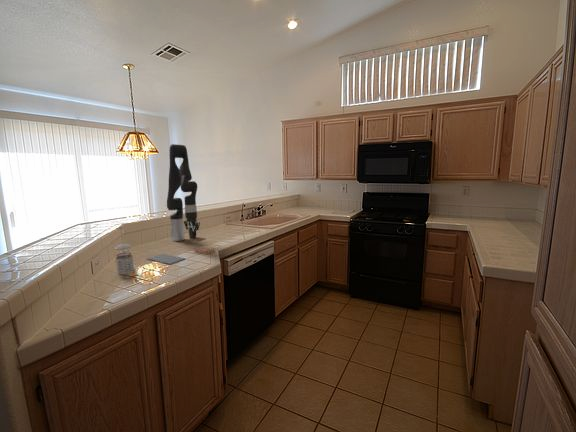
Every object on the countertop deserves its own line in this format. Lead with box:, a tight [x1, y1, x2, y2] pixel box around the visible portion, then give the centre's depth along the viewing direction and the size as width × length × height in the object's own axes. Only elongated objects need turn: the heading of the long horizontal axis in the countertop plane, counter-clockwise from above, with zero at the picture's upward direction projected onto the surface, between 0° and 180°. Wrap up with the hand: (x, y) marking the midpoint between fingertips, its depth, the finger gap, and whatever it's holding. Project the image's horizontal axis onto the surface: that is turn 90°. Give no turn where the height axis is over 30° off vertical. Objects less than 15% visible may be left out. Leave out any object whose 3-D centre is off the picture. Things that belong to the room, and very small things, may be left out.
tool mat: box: [146, 253, 186, 265], centre depth 173 cm, size 22×11×1 cm, turn 60°
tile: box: [194, 246, 215, 255], centre depth 188 cm, size 2×8×10 cm
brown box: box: [187, 229, 207, 243], centre depth 189 cm, size 10×7×7 cm
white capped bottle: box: [114, 226, 136, 275], centre depth 151 cm, size 10×12×25 cm
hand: (192, 235), depth 191 cm, fingers closed on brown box, 3 cm apart
